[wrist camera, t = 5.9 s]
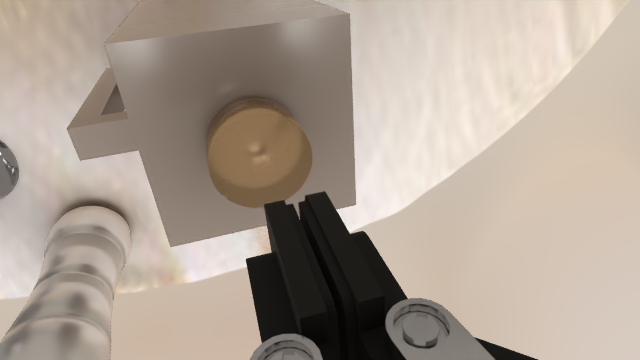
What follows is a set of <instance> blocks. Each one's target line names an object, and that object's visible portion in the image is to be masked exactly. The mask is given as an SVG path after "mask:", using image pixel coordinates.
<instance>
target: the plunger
mask: <svg viewBox="0 0 640 360" xmlns="http://www.w3.org/2000/svg"><path fill="white" fill-rule="evenodd" d="M206 152H207V160H208V168H209V174H210V177H211V180H212V182H213V184H214V186H215V187H216V189H217V190H218V191H219V192H220V194H221V195H223V196H224V197H225V198H226V199H228V200H229V201H231V202H233V203H235V204H237V205H241V206H244V207H250V208H264V204H266V203H271V202H276V201H281V200H284V201H285V200H287V199H289V198H290V197H292V196H293V195H294V194H295V193H296V192H297V191H298V190H299V189H300V188H301V187H302V186H303V184H304V183H305V181H306V180H307V178H308V176H309V173H310V170H311V166H312V149H311V145H310V142H309V140H308V138H307V136H306V135H305V133H304V132H303V130H302V129H301V127H300V126H299V124H298V123H297V121H296V120H295V118H294V117H293V115H292V114H291V113H290V112H289V110H288V109H286V108H285V107H284V106H283V105H281V104H279V103H278V102H276V101H273V100H270V99H267V98H261V97H249V98H243V99H240V100H237V101H234V102H232V103H230V104H228V105H227V106H225V107H224V108H223V109H222V110H221V111H219V112H218V113H217V115H216V116H215V117H214V118H213V120H212V122H211V123H210V126H209V128H208V131H207V135H206Z"/></svg>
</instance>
